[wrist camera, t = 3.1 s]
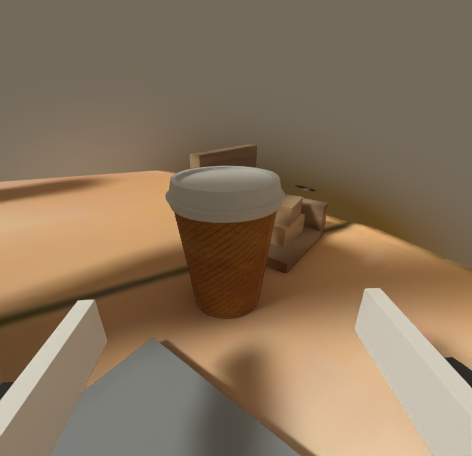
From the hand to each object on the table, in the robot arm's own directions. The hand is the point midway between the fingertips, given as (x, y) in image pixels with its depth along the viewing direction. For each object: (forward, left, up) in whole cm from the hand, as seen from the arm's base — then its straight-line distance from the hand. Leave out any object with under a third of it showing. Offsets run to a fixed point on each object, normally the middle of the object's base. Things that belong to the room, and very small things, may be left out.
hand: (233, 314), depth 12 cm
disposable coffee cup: (-7, +8, -8) cm, 13 cm away
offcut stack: (-10, +21, -6) cm, 24 cm away
